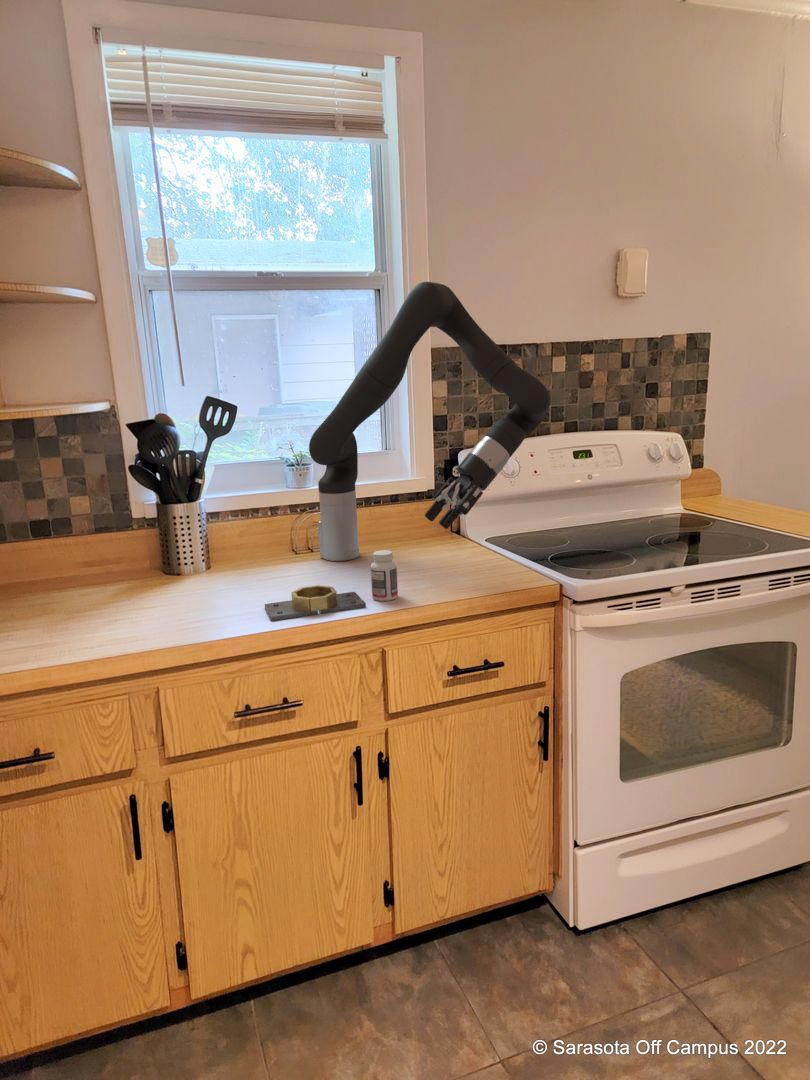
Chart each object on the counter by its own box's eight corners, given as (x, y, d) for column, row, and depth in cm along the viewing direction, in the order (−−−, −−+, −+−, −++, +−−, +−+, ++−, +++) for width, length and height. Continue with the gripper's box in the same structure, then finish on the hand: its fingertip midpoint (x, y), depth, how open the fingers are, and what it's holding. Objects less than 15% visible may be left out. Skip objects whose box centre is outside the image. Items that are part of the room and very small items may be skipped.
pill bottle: (391, 592, 155) (389, 547, 152) (402, 598, 150) (400, 553, 148) (368, 596, 152) (365, 551, 150) (378, 603, 148) (376, 557, 145)
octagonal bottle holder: (271, 621, 140) (269, 604, 139) (264, 607, 148) (263, 592, 147) (365, 607, 146) (365, 591, 145) (354, 595, 154) (353, 580, 153)
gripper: (458, 448, 157) (411, 506, 156) (486, 454, 144) (434, 517, 143) (481, 470, 160) (435, 527, 159) (510, 478, 147) (460, 540, 146)
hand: (434, 522), depth 151 cm, fingers open, 8 cm apart
